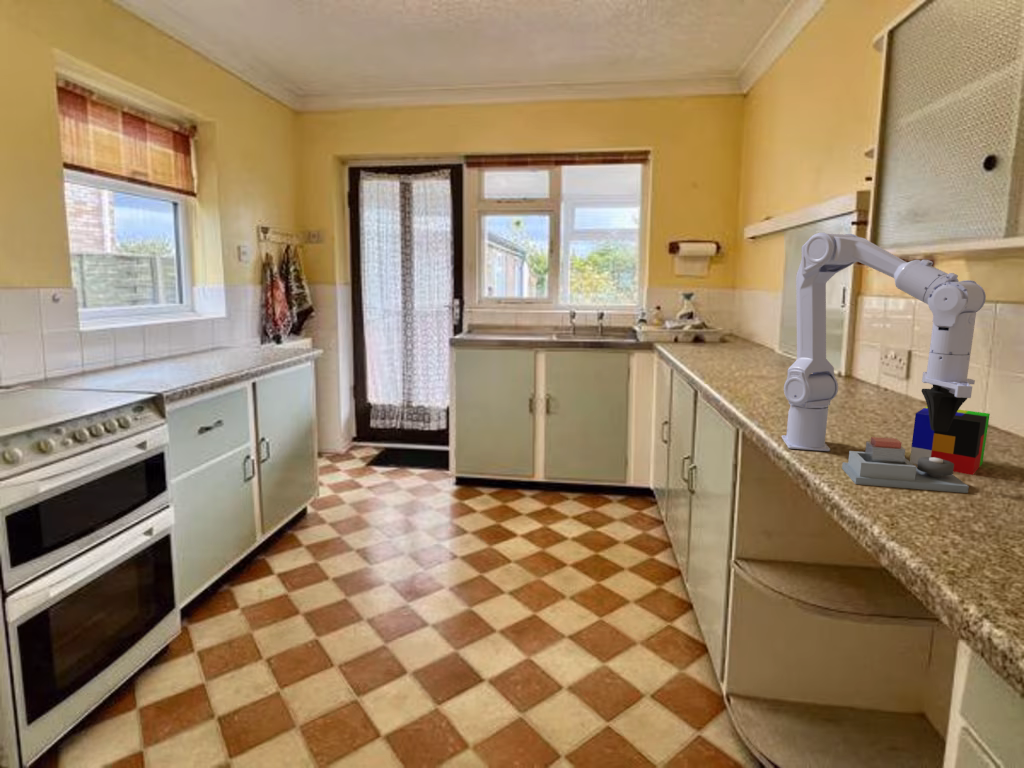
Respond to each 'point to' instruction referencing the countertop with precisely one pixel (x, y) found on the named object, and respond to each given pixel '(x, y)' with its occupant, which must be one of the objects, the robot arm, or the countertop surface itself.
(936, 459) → the wheel
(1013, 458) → the countertop surface
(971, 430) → the puzzle toy
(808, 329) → the robot arm
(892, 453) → the red and grey block
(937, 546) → the countertop surface
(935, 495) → the countertop surface
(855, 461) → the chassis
